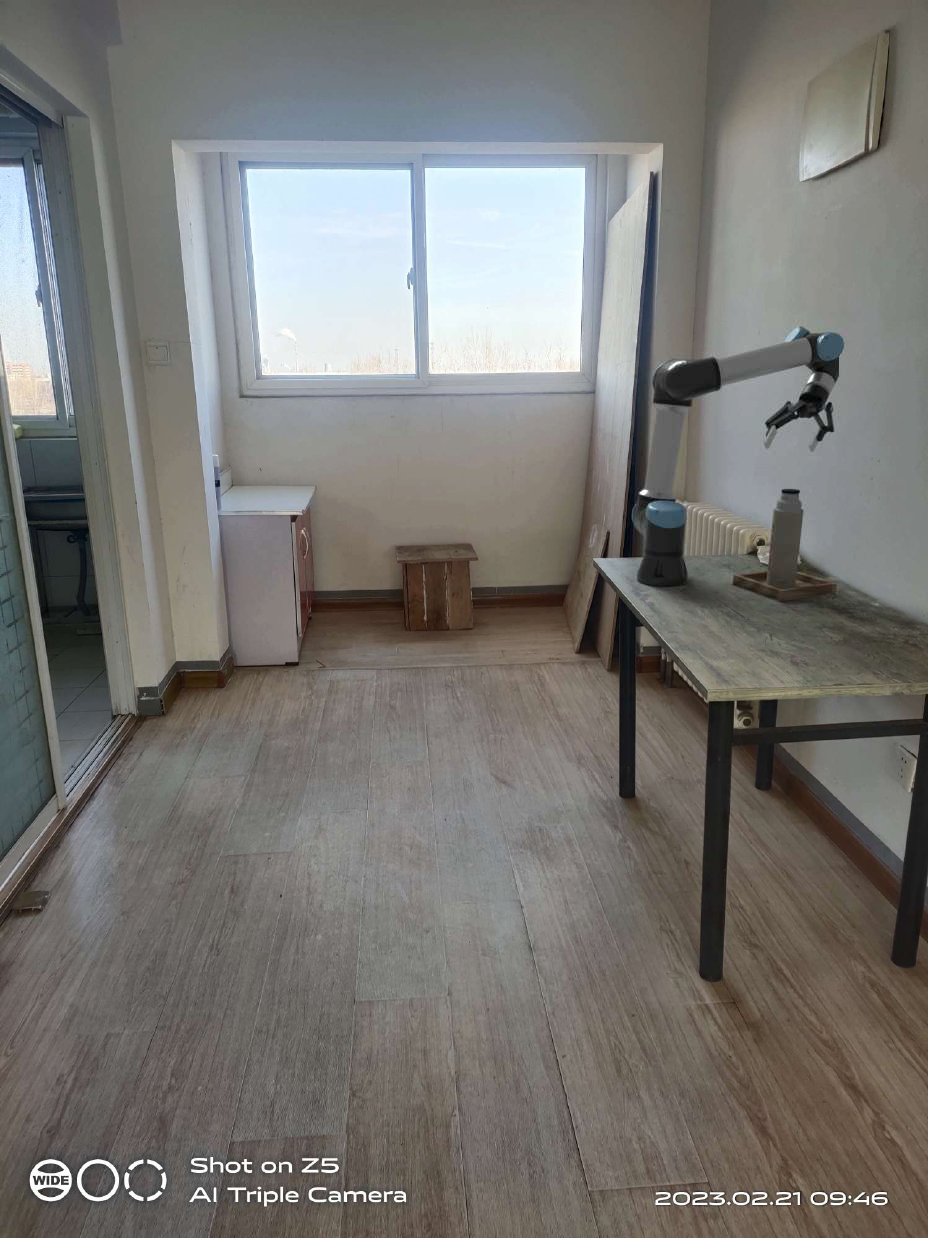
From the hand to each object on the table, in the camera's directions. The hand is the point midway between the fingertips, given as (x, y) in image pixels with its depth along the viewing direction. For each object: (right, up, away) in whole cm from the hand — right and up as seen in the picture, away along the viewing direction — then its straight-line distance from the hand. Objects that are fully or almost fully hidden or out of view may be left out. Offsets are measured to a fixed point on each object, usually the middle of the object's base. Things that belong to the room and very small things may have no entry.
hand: (787, 447), depth 243 cm
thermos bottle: (-2, -40, +1) cm, 40 cm away
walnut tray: (-1, -41, +1) cm, 41 cm away
